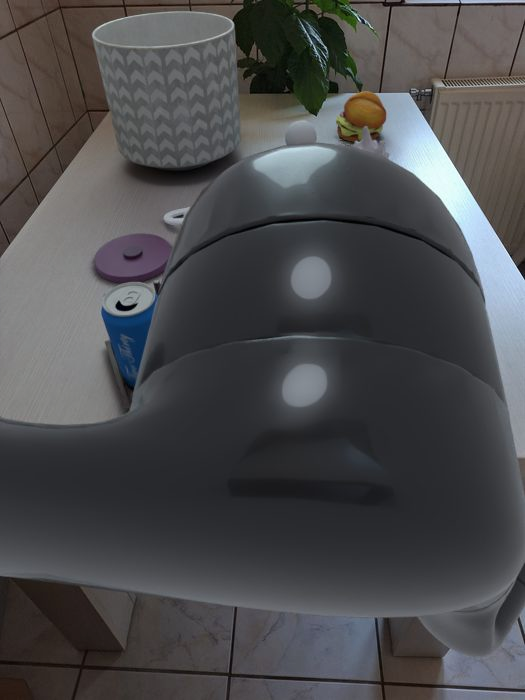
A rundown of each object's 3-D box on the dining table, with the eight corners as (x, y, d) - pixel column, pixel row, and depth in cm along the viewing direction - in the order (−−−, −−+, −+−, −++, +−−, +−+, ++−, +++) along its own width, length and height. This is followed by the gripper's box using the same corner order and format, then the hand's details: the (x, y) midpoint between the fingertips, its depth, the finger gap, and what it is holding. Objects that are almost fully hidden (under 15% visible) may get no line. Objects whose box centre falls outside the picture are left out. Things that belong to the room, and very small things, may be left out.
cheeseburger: (366, 122, 116) (377, 79, 107) (387, 150, 111) (401, 107, 102) (327, 128, 113) (335, 85, 105) (347, 157, 108) (358, 115, 100)
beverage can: (114, 388, 60) (87, 313, 52) (136, 351, 64) (114, 276, 56) (164, 397, 59) (144, 321, 50) (183, 358, 63) (168, 283, 55)
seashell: (326, 177, 97) (329, 128, 90) (366, 158, 102) (372, 111, 96) (366, 195, 92) (373, 144, 85) (406, 174, 97) (415, 125, 90)
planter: (228, 190, 94) (217, 48, 78) (104, 184, 98) (67, 46, 81) (251, 137, 112) (246, 11, 95) (145, 133, 115) (121, 11, 98)
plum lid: (104, 291, 74) (101, 282, 72) (90, 250, 81) (87, 241, 80) (181, 270, 77) (180, 260, 75) (161, 232, 85) (159, 223, 83)
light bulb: (293, 164, 102) (294, 113, 94) (319, 170, 99) (322, 118, 92) (279, 176, 98) (279, 124, 91) (306, 182, 96) (308, 129, 89)
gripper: (352, 378, 46) (228, 304, 54) (245, 482, 38) (120, 379, 46) (345, 426, 51) (233, 353, 59) (250, 525, 44) (137, 427, 52)
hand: (183, 364), depth 53 cm, fingers open, 8 cm apart
